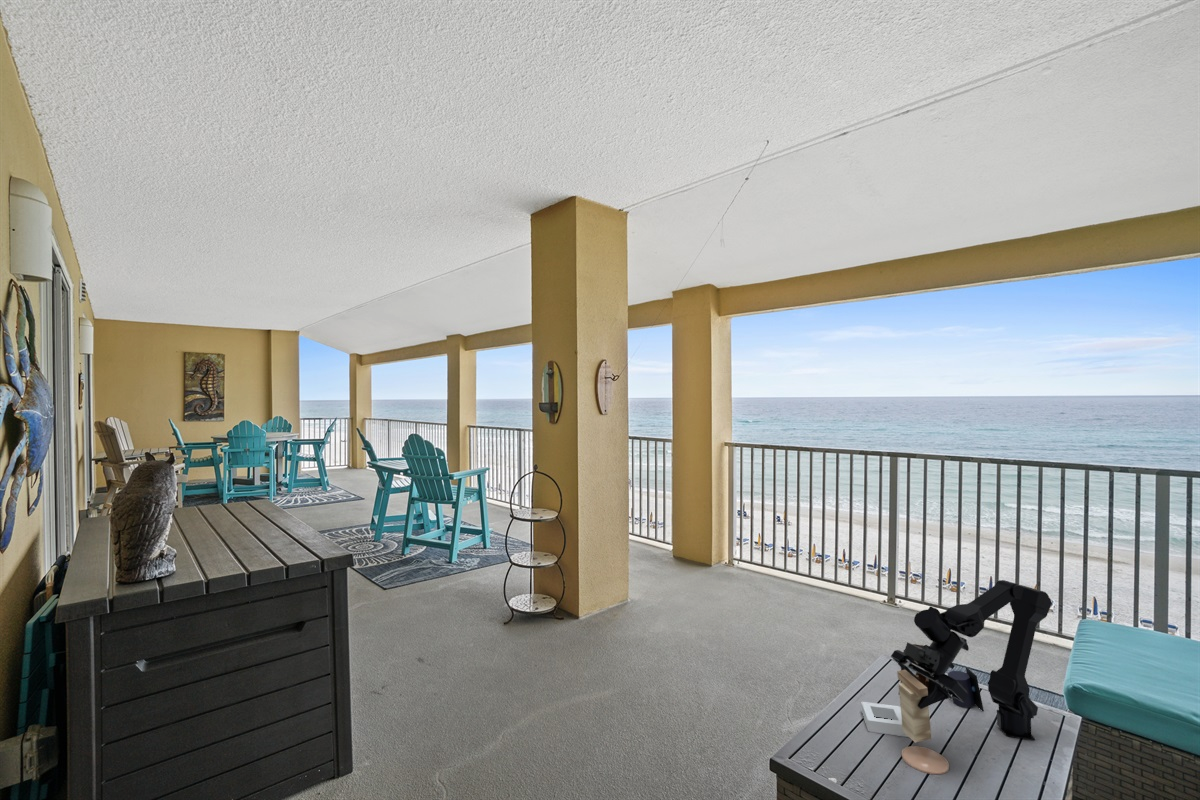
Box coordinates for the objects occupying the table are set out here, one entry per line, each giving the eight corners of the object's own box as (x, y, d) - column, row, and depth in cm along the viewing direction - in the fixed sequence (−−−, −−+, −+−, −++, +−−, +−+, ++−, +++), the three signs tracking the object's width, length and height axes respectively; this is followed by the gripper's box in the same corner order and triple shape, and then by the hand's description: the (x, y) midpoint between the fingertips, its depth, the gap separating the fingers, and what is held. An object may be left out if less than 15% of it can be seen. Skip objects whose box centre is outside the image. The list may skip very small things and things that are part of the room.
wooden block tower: (913, 722, 140) (908, 668, 138) (936, 743, 132) (931, 686, 130) (898, 725, 139) (893, 672, 138) (920, 747, 131) (914, 690, 130)
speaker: (981, 701, 158) (975, 666, 159) (984, 712, 153) (978, 676, 154) (951, 698, 162) (945, 664, 162) (953, 708, 157) (947, 673, 157)
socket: (899, 717, 151) (899, 706, 151) (909, 737, 142) (909, 725, 142) (861, 712, 154) (861, 701, 154) (868, 731, 145) (868, 720, 145)
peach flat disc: (941, 752, 135) (941, 749, 135) (955, 777, 126) (955, 775, 126) (897, 745, 138) (897, 743, 138) (907, 770, 129) (907, 767, 129)
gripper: (894, 619, 146) (862, 665, 142) (956, 647, 128) (921, 701, 124) (919, 644, 147) (888, 691, 144) (983, 675, 129) (949, 729, 126)
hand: (909, 701), depth 135 cm, fingers closed on wooden block tower, 6 cm apart
